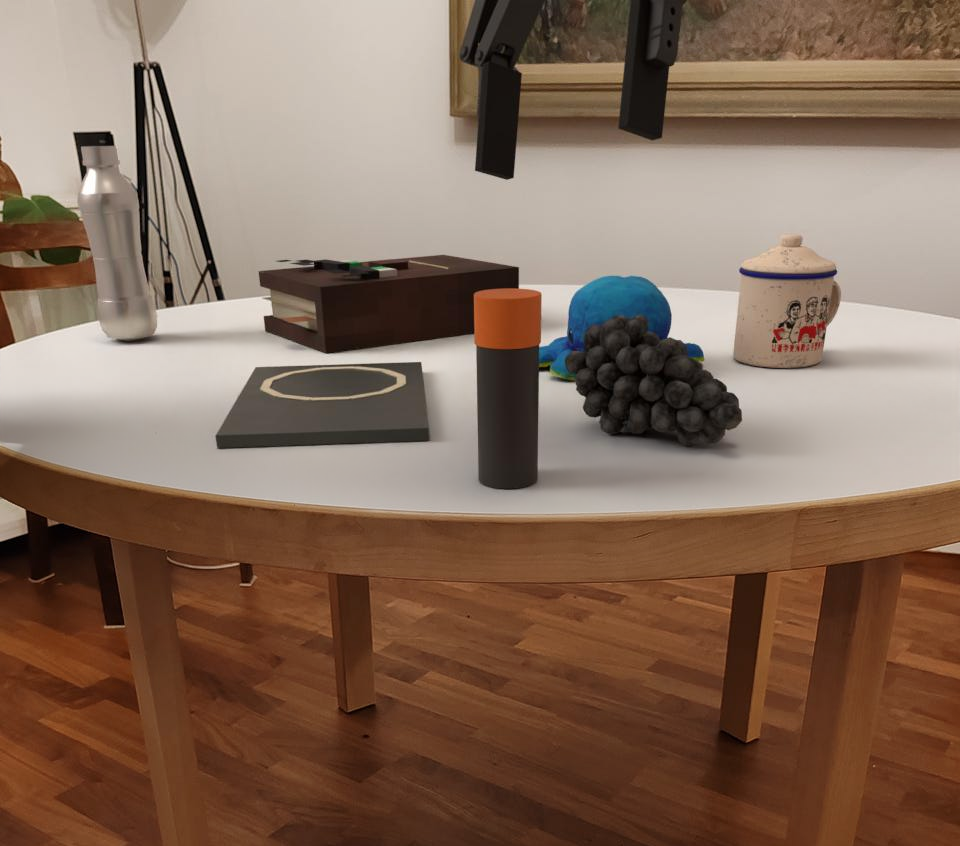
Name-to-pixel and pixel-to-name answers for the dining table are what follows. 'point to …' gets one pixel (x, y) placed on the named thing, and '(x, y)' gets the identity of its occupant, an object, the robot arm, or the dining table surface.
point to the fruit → (649, 384)
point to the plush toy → (610, 316)
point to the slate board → (328, 406)
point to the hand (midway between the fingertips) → (560, 156)
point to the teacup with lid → (785, 306)
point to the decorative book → (378, 300)
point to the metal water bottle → (115, 246)
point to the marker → (507, 385)
